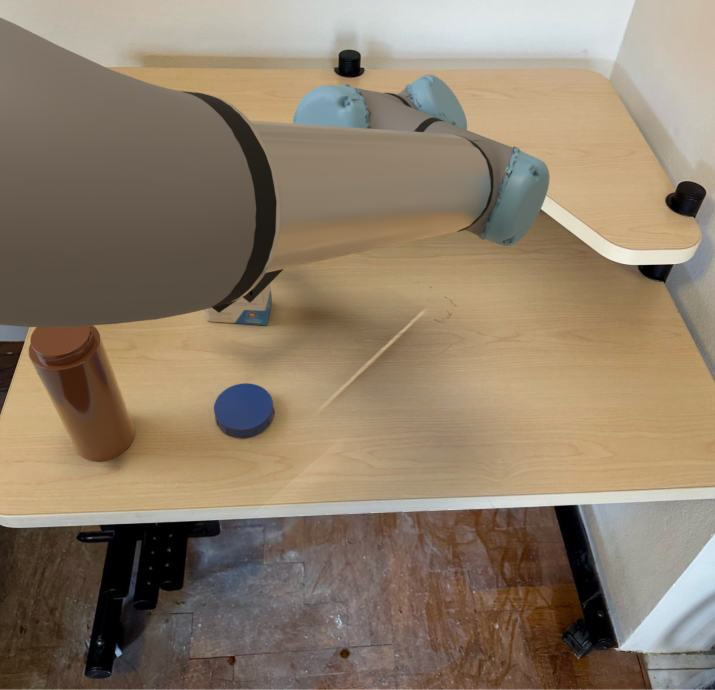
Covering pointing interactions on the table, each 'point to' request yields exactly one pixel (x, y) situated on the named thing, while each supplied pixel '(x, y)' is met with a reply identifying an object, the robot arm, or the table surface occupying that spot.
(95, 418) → the jar
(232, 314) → the ink box
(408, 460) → the table surface
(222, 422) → the lid
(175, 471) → the table surface
